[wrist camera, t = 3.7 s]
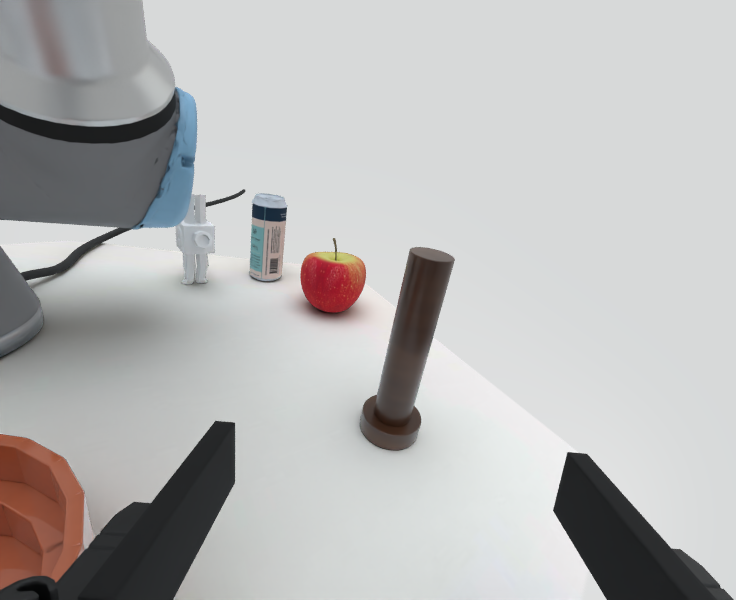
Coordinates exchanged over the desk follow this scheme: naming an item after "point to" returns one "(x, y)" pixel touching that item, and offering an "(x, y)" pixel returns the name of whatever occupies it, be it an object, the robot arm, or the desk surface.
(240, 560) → the desk surface
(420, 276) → the muddler
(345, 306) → the apple
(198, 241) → the toy robot
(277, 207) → the beer can
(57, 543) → the bowl
